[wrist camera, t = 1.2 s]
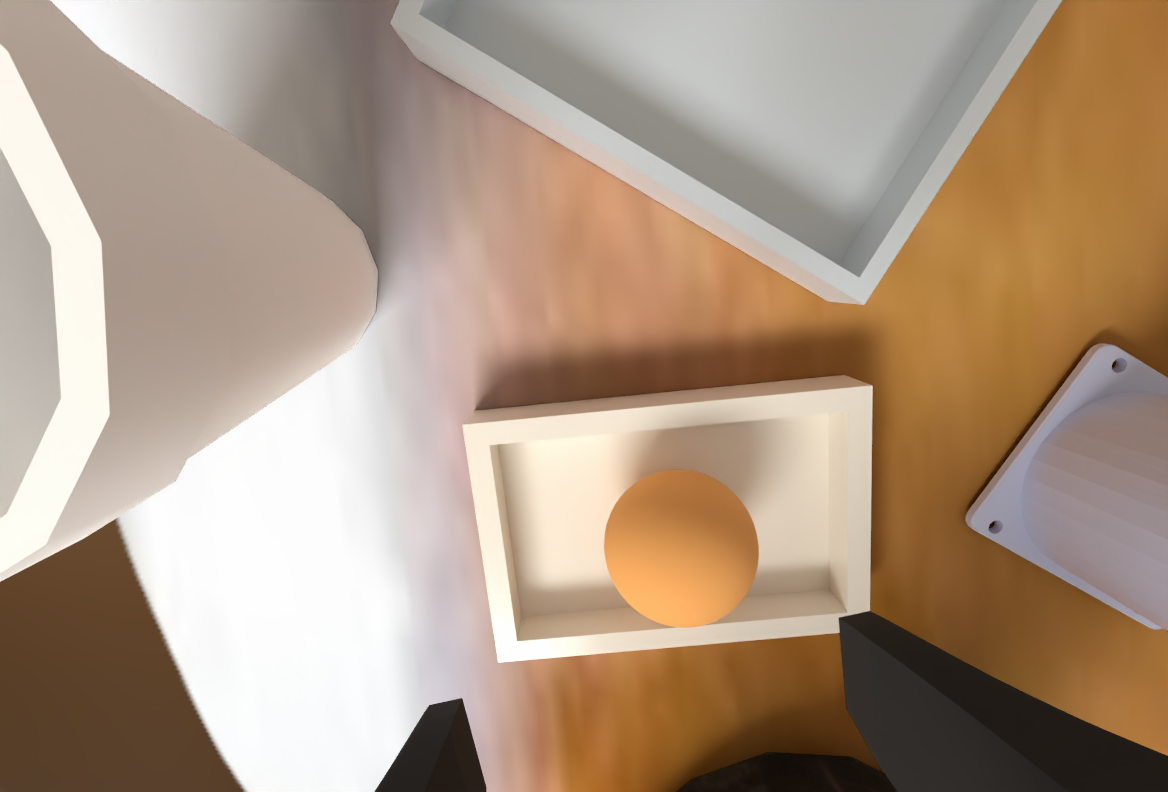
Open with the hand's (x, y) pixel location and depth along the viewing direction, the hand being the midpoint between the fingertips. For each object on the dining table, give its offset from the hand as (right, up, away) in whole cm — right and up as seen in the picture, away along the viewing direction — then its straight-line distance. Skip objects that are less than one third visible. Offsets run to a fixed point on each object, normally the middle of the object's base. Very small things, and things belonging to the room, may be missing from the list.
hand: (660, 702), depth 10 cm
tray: (+3, +18, +7) cm, 20 cm away
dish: (+2, +1, +11) cm, 11 cm away
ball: (+2, +1, +8) cm, 8 cm away
